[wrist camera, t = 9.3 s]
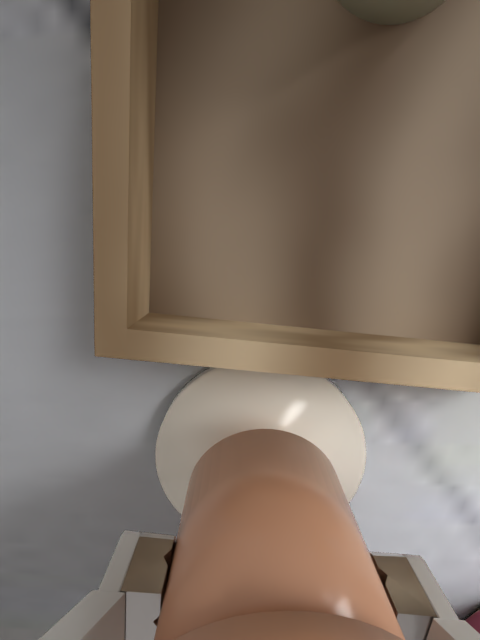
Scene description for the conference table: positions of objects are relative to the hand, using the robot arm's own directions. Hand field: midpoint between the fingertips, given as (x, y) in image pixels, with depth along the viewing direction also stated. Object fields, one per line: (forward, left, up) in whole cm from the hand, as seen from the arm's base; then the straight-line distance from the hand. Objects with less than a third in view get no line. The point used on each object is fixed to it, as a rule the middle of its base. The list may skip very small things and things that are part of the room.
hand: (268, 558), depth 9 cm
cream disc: (0, 0, -5) cm, 5 cm away
